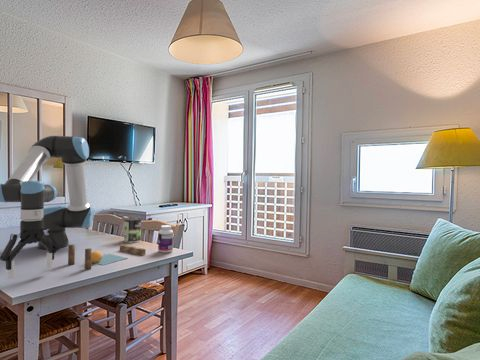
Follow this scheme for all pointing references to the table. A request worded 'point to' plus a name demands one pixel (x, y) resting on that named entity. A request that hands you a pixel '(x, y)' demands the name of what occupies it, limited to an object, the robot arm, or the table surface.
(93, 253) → the ball
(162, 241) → the pill bottle
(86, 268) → the post
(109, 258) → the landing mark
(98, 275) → the table surface
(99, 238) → the table surface
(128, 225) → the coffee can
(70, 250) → the post
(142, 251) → the wooden bar
